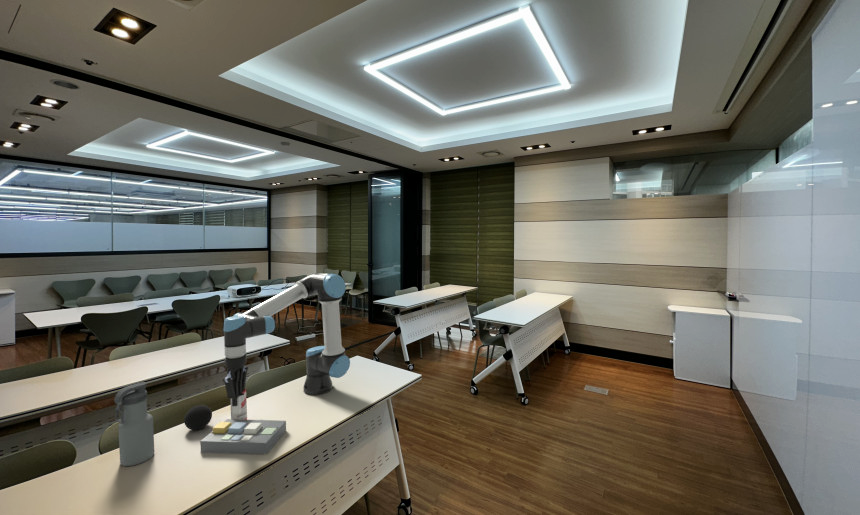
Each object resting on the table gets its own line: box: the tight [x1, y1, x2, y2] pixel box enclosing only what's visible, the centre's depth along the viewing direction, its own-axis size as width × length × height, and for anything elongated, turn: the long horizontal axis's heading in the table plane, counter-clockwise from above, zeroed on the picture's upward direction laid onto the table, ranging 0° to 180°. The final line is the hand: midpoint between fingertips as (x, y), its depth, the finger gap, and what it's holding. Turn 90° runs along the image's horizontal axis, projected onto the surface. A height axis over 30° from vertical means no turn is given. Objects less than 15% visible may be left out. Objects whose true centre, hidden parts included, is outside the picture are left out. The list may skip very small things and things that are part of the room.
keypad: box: [199, 418, 287, 455], centre depth 138 cm, size 16×26×5 cm, turn 87°
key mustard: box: [212, 421, 231, 434], centre depth 138 cm, size 5×5×2 cm
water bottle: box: [114, 381, 155, 467], centre depth 126 cm, size 10×10×28 cm
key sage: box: [260, 427, 277, 435], centre depth 137 cm, size 5×5×2 cm
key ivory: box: [244, 423, 262, 435], centre depth 137 cm, size 5×5×2 cm
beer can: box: [230, 388, 248, 420], centre depth 151 cm, size 6×6×16 cm
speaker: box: [183, 404, 213, 431], centre depth 147 cm, size 10×10×10 cm
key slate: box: [228, 422, 246, 434], centre depth 138 cm, size 5×5×2 cm
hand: (237, 412), depth 137 cm, fingers closed
